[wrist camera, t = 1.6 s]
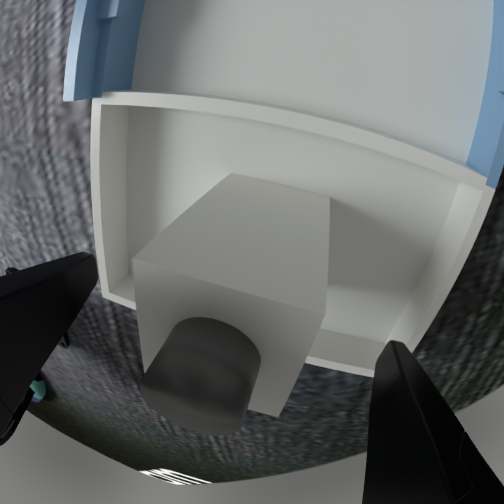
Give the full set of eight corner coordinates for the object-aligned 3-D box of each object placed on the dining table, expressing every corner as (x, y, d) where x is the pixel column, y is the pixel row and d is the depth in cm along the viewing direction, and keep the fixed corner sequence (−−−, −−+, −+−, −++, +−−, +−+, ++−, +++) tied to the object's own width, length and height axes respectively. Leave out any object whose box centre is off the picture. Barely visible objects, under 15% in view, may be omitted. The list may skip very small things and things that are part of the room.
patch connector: (305, 280, 14) (266, 466, 6) (219, 257, 14) (119, 414, 7) (329, 196, 12) (319, 380, 4) (230, 172, 12) (86, 303, 5)
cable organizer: (388, 346, 15) (393, 398, 12) (117, 270, 17) (82, 305, 14) (498, -22, 5) (537, -43, 2) (153, -79, 7) (112, -105, 4)
